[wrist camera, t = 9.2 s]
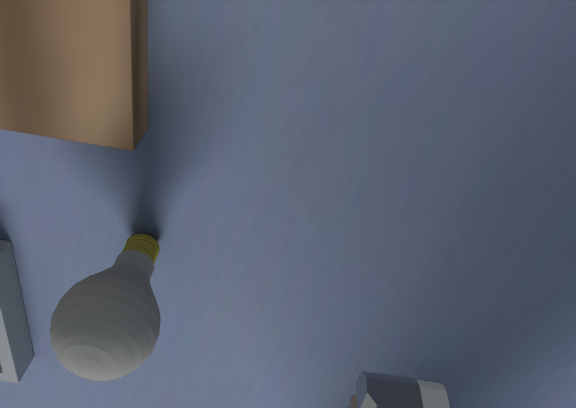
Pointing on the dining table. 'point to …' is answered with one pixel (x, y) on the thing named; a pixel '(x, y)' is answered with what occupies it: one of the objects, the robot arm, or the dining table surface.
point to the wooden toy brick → (75, 70)
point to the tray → (12, 320)
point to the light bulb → (110, 316)
